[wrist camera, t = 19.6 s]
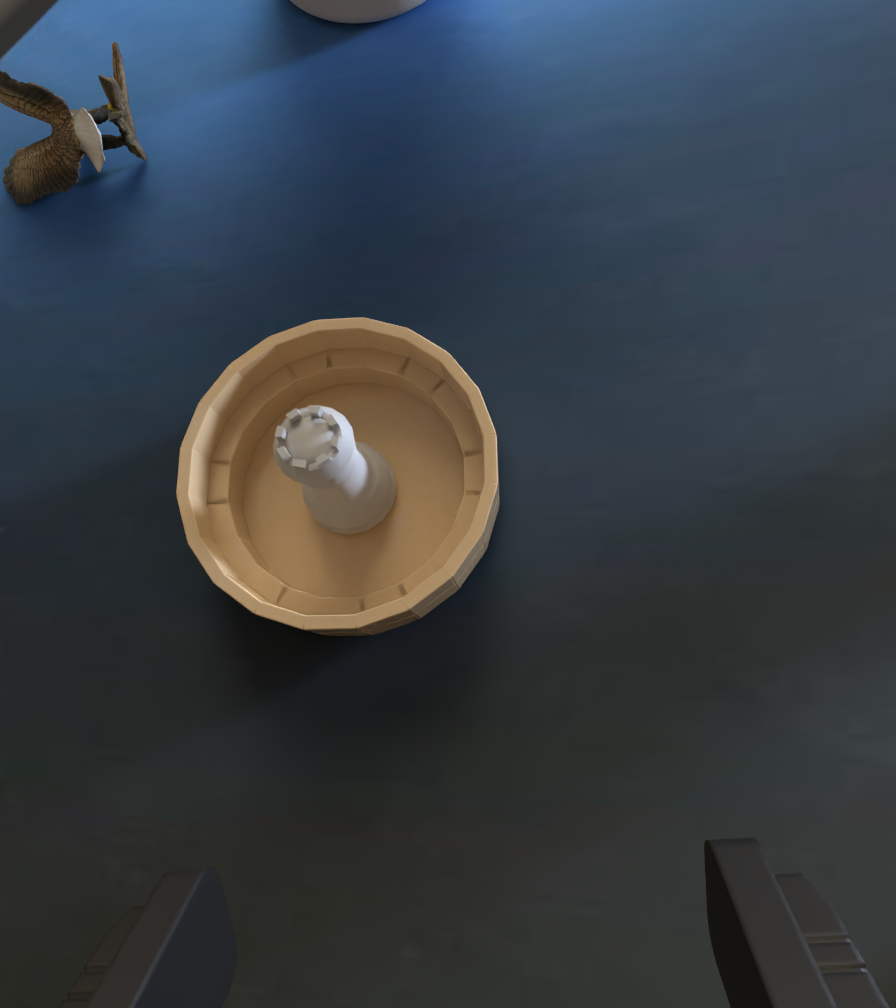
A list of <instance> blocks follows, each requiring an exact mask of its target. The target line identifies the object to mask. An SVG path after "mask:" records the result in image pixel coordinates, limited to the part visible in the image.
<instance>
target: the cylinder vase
mask: <svg viewBox="0 0 896 1008" xmlns="http://www.w3.org/2000/svg"><path fill="white" fill-rule="evenodd" d="M290 1H291V2H292V3H293V4H294V5H296V6H297V7H299V8H300V9H302V10H303V11H305V12H307V13H309V14H311V15H313V16H316V17H319V18H322V19H325V20H329V21H333V22H340V23H370V22H376V21H381V20H385V19H389V18H392V17H395V16H398V15H401V14H403V13H405V12H407V11H410V10H412V9H413V8H415V7H417V6H419V5H420V4H422V3H423V2H425V1H426V0H290Z"/></svg>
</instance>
